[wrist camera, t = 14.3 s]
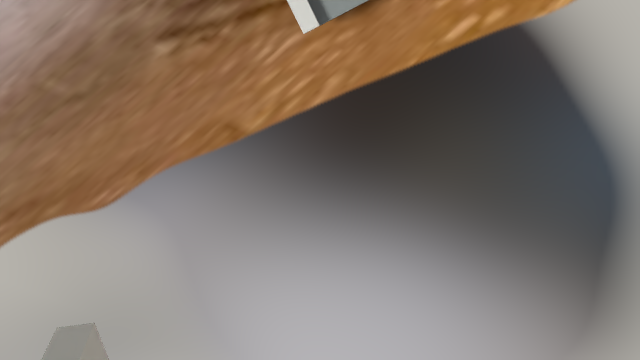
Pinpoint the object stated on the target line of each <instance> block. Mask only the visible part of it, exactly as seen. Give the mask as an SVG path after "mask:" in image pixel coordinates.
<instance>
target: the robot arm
mask: <svg viewBox="0 0 640 360" xmlns="http://www.w3.org/2000/svg"><path fill="white" fill-rule="evenodd" d="M42 360H109V358H108V356H107V354H106V351H105V348H104V346H103V343H102V341H101V338H100V336H99V333H98V331H97V328H96V326H95V323H89V324H82V325H75V326H67V327H59V328H57V329H56V331H55V333H54V335H53V337H52V339H51V341H50V343H49V345H48V347H47V349H46V351H45V353H44V355H43V358H42Z"/></svg>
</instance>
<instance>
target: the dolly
mask: <svg viewBox="0 0 640 360" xmlns="http://www.w3.org/2000/svg"><path fill="white" fill-rule="evenodd" d="M287 1H288V3H289V5H290V7H291V9H292V11H293V13H294V15H295V17H296V19H297V21H298V23H299V25H300V27H301V29H302V32H303V34H304V33H307V32H309V31H311V30H313V29H314V28H316V27H318V26H320V25H322V24H324V23H326V22H328V21H330V20H332V19H334V18H336V17H337V16H339V15H341V14H343V13H345V12H347V11H349V10H351V9H353V8H355V7H357V6H359V5H360V4H362V3H364V2H366V1H368V0H287Z"/></svg>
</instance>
